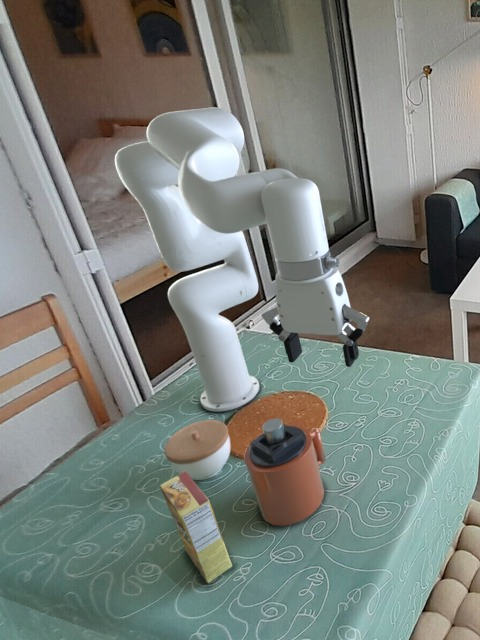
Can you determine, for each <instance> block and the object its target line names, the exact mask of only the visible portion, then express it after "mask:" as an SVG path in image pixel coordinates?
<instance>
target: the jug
mask: <svg viewBox="0 0 480 640" xmlns="http://www.w3.org/2000/svg"><path fill="white" fill-rule="evenodd" d="M283 425H284V429H285V433H286V438H285V439H284V440H283V441H282V442H281V443H279V444H276V445H269V444H268V443H267V442H266V439H265V436H264V432H262V433H260V434H259V435H258V436H256V437H255V438H254V439H253V440H252V441H250V443H249V444H248V445H247V447H246V449H245V451H244V455H243V461H244V465H245V467H246V470H247V473H248V477H249V480H250V482H251V486H252V489H253V492H254V495H255V499H256V502H257V505H258V508H259V511H260V513H261V517H262V518H263V519H264V521H266V523H269V524H270V525H273V526H278V527H285V526H286V527H287V526H291V525H294V524H298V523H300V522H302V521H304V520H305V519H307V518H308V517H310V516H311V515H312V514H314V513H315V512H316V511H317V510H318V509H319V507H320V505H322V502H323V500H324V496H325V488H324V483H323V478H322V475H321V471H320V466H322V465H323V464H325V463H326V461H327V459H326V454H325V449H324V445H323V440H322V435H321V432H320V431H321V430H320V429H319V428H318V427H313V428H311V430H310V431H309V430H308V429H307V428H305V427H303V426H301V425H297V424H285V423H283Z"/></svg>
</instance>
